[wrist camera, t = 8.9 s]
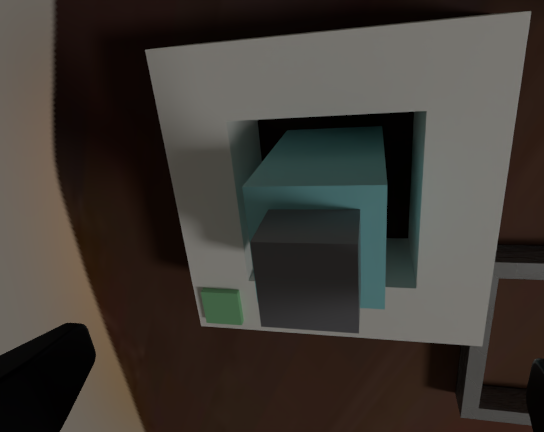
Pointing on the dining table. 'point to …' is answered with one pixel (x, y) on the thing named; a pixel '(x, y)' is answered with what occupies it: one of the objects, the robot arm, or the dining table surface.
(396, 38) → the frame
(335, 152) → the plug
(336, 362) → the dining table surface
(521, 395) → the open square ring
